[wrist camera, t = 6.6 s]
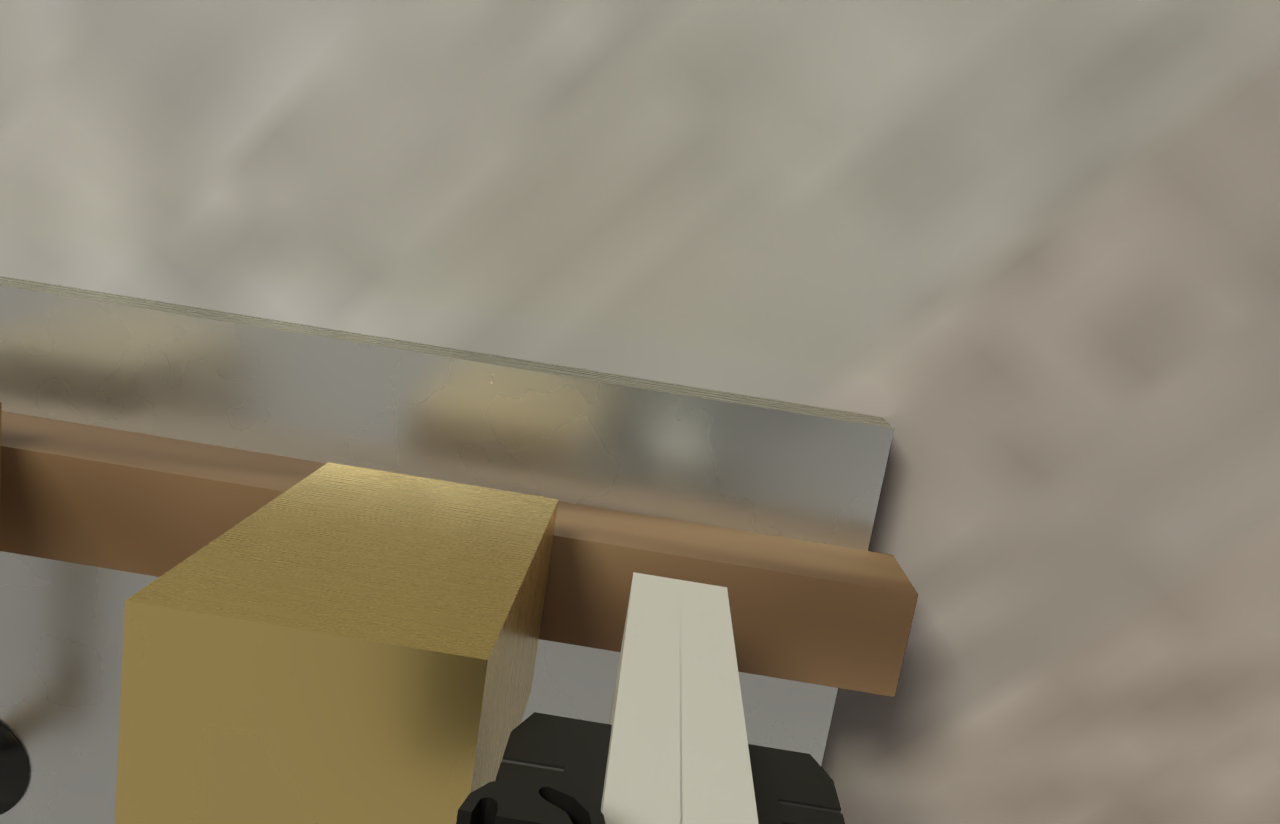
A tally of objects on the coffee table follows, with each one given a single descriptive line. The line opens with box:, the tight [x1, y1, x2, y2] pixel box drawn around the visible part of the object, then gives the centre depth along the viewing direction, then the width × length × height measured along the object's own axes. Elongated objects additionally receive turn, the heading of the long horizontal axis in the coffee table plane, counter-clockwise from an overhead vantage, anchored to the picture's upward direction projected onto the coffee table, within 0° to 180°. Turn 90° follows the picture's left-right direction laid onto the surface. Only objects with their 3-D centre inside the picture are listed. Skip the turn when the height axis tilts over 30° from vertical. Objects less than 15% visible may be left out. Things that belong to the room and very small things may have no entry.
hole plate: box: [0, 277, 894, 824], centre depth 20 cm, size 13×21×1 cm, turn 81°
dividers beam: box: [0, 402, 918, 697], centre depth 15 cm, size 10×21×8 cm, turn 81°
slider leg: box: [115, 462, 559, 824], centre depth 15 cm, size 10×4×8 cm, turn 171°
